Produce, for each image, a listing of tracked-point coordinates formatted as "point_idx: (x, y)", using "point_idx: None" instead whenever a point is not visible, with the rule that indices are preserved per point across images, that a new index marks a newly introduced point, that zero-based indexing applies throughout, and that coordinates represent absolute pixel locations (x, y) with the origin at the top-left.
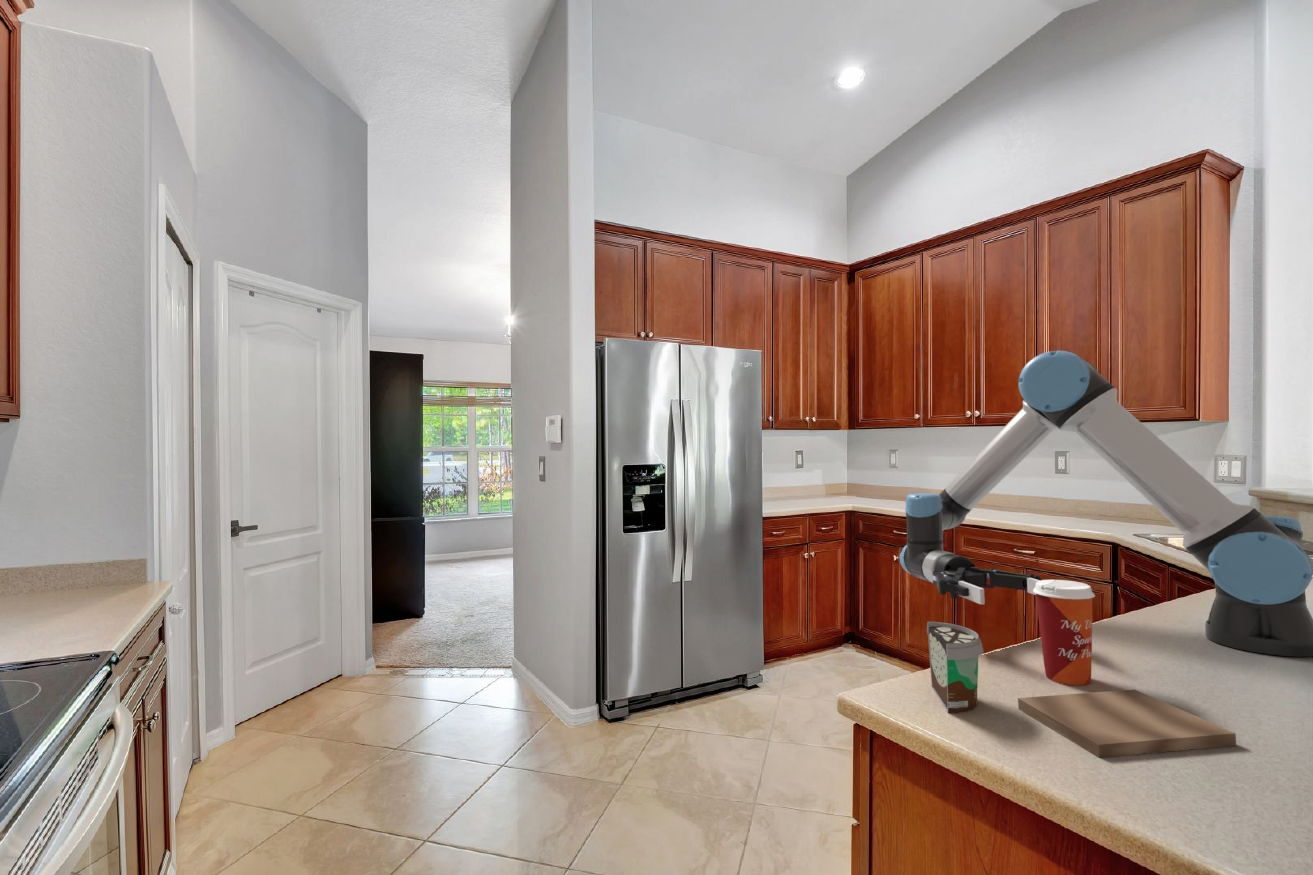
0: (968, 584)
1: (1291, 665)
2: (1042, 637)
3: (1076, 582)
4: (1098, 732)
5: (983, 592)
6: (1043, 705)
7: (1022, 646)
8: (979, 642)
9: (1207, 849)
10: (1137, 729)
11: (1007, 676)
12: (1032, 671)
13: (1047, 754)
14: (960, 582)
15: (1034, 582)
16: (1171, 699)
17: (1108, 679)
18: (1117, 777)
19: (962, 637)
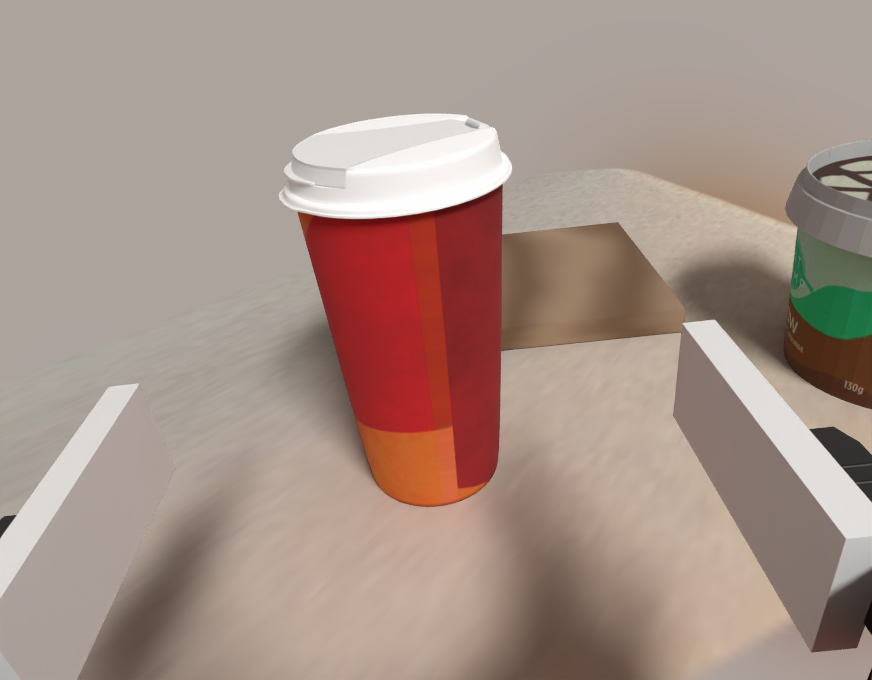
0: (786, 413)
1: None
2: (499, 347)
3: (309, 150)
4: (594, 239)
5: (685, 347)
6: (641, 290)
7: None
8: (804, 172)
9: (608, 174)
10: (522, 247)
11: (629, 482)
12: (511, 517)
13: (693, 242)
14: (867, 505)
15: (58, 543)
16: (295, 366)
17: (317, 454)
18: (621, 220)
19: (853, 194)
